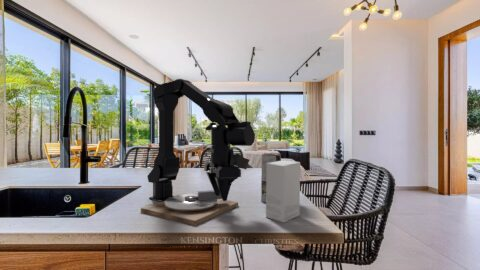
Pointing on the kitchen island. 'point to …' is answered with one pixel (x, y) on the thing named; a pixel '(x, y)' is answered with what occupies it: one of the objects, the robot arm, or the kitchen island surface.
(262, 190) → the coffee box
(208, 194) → the handwheel
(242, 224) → the kitchen island surface
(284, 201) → the skincare box
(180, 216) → the wheel base
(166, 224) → the kitchen island surface
